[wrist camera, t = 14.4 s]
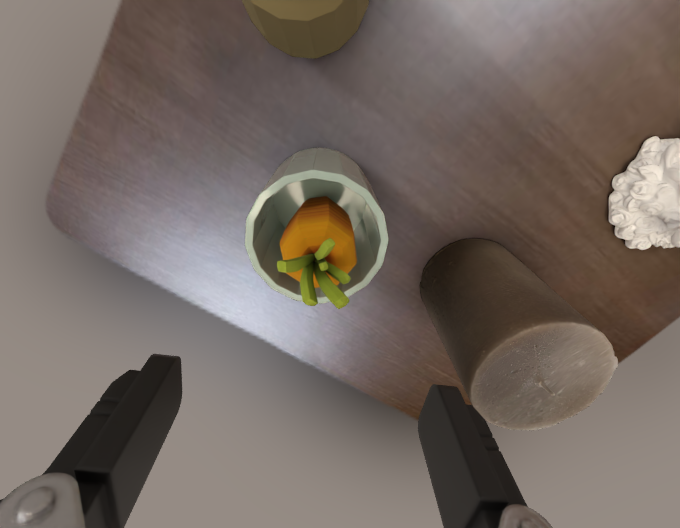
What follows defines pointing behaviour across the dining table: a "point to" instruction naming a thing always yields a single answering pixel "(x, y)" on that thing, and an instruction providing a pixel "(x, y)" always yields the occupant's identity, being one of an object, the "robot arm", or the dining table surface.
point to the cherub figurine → (649, 197)
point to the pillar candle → (513, 337)
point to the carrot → (319, 250)
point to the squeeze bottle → (307, 24)
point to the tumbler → (286, 198)
